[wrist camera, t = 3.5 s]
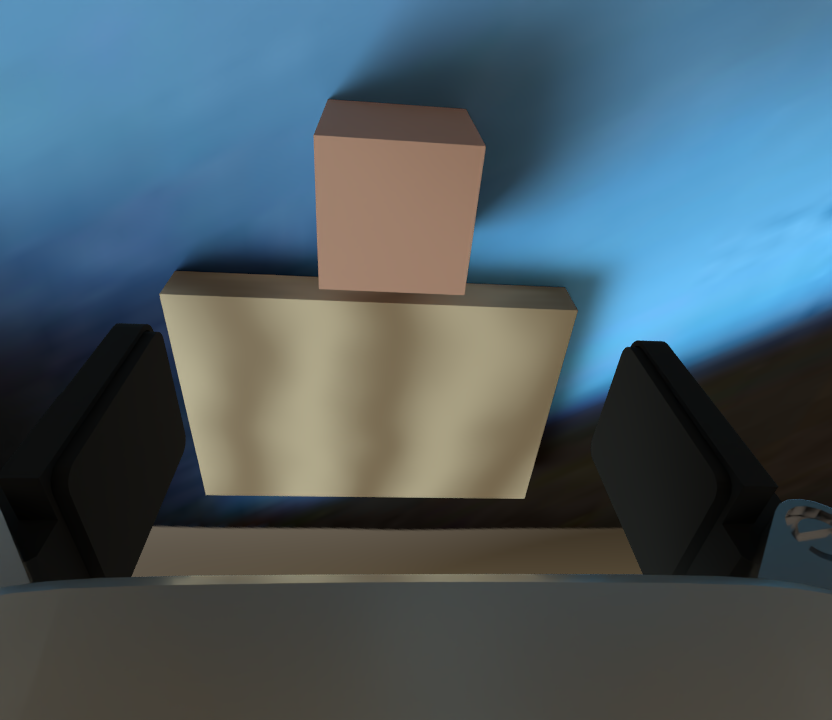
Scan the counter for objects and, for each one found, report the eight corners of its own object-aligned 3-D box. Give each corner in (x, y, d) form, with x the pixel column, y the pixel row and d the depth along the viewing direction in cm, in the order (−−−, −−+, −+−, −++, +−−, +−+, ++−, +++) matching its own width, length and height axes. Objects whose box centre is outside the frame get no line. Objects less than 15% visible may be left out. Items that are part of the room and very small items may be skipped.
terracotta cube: (465, 108, 20) (485, 146, 16) (450, 236, 23) (464, 295, 19) (328, 99, 20) (313, 135, 16) (330, 229, 23) (318, 289, 19)
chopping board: (215, 466, 30) (206, 495, 29) (175, 271, 23) (159, 294, 22) (517, 471, 32) (524, 498, 30) (565, 287, 25) (577, 310, 23)
